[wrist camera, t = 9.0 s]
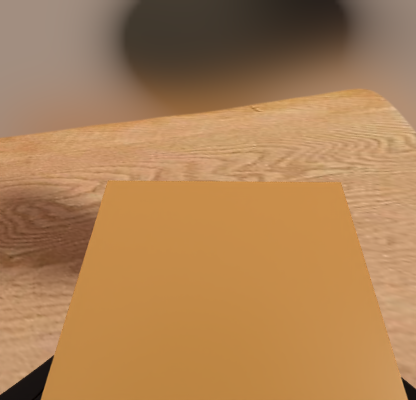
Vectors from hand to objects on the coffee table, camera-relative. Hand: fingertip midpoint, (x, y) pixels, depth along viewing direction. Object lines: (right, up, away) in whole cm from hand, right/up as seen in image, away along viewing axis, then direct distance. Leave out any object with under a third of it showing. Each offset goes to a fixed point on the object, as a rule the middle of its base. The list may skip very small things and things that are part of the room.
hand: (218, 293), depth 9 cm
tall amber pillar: (0, -4, +6) cm, 7 cm away
